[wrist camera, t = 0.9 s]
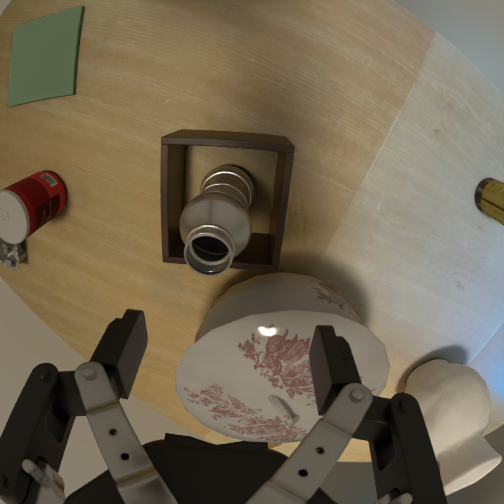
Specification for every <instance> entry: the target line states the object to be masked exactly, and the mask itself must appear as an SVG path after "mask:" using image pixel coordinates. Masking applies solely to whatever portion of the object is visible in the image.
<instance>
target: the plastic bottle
mask: <svg viewBox="0 0 504 504" xmlns="http://www.w3.org/2000/svg"><path fill="white" fill-rule="evenodd" d="M253 197H254V187H253V183H252V181H251V179H250V178H249V176H248V175H247V174H246V173H245V172H244V171H243V170H241V169H239V168H237V167H234V166H221V167H217V168H215V169H213V170H211V171H210V172H209V173H208V174H207V175H206V176H205V178H204V179H203V181H202V185H201V194H200V195H198V196H197V197H195V198H194V199H193V200H191V201H190V202H189V203H188V204H187V206H186V207H185V208H184V210H183V212H182V214H181V217H180V233H181V238H182V240H183V242H184V244H185V248H184V257H185V260H186V263H187V264H188V266H189V267H190V268H191V269H192V270H193V271H195V272H196V273H198V274H200V275H204V276H217V275H220V274H222V273H224V272H225V271H227V270H228V268H229V267H230V265H231V263H232V260H233V258H234V257H235V256H237V255H238V254H240V252H241V251H242V250H243V249H244V248H245V247H246V246H247V244H248V243H249V241H250V238H251V233H252V225H251V218H250V215H249V213H248V208H249V206H250V204H251V202H252V200H253Z"/></svg>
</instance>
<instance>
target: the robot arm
mask: <svg viewBox="0 0 504 504" xmlns="http://www.w3.org/2000/svg"><path fill="white" fill-rule="evenodd" d="M147 340H148V336H147V329H146V323H145V316H144V312H143V311H141V310H133V309H127V310H126V312H125V314H124V316H123V318H122V319H120V318H116V319H115V320H114V321H112V322H111V323H110V324H109V325H108V327H107V329H106V331H105V333H104V334H103V336H102V339H101V340H100V342H99V344H98V346H97V348H96V349H95V351H94V353H93V355H92V357H91V359H90V361H89V362H85V363H83V364H81V365H80V366H79V367H78V368H77V369H76V371H64V372H63V371H62V372H58V370H57V368H56V367H55V366H54V365H53V364H50V363H42V364H39V365H38V366H36V367H35V368H34V369H33V370H32V372H31V374H30V376H29V378H28V380H27V382H26V384H25V386H24V388H23V389H22V391H21V394H20V396H19V398H18V400H17V402H16V404H15V406H14V408H13V410H12V413H11V415H10V417H9V419H8V421H7V423H6V426H5V428H4V431H3V433H2V435H1V438H0V499H2V500H3V501H4V502H5V503H6V504H338V503H336V502H335V501H334V500H333V499H332V498H331V497H330V496H329V495H328V494H327V493H325V492H324V491H323V490H322V489H321V488H320V487H319V486H320V485H321V484H322V482H323V481H324V479H325V478H326V476H327V475H328V474H329V472H330V471H331V469H332V468H333V466H334V465H335V463H336V462H337V460H338V459H339V457H340V456H341V454H342V453H343V451H344V450H345V448H346V446H347V445H348V443H349V442H350V440H351V438H355V439H360V440H366V441H368V442H369V447H370V453H371V459H372V465H373V471H374V478H375V485H376V491H377V499H378V501H376V502H375V503H374V504H447V500H446V496H445V491H444V487H443V483H442V479H441V475H440V472H439V468H438V464H437V460H436V457H435V453H434V450H433V447H432V443H431V440H430V437H429V433H428V430H427V427H426V424H425V421H424V418H423V415H422V412H421V409H420V406H419V403H418V401H417V400H416V398H415V397H413V396H412V395H410V394H408V393H398V394H395V395H394V396H393V397H392V399H387V398H382V397H377V396H374V395H372V393H371V391H370V390H369V389H368V388H367V387H366V386H364V385H362V382H361V379H360V376H359V372H358V369H357V366H356V363H355V360H354V357H353V354H352V351H351V348H350V345H349V343H348V342H347V341H346V340H345V338H344V337H343V336H336V334H335V330H334V327H333V326H332V325H316V327H315V331H314V335H313V338H312V342H311V346H310V350H309V363H310V369H311V374H312V380H313V386H314V392H315V398H316V404H317V410H318V416H323V417H322V418H320V419H319V420H318V421H317V422H316V424H315V425H314V426H313V428H312V429H311V430H310V432H309V433H308V434H307V435H306V437H305V438H304V439H303V440H302V442H301V443H300V444H299V445H298V447H297V448H296V449H295V450H294V452H293V453H292V454H291V455H290V456H289V457H287V456H286V455H284V454H282V453H280V452H278V451H275V450H272V449H268V442H250V441H240V442H234V443H227V444H219V445H215V444H211V443H208V442H205V441H202V440H199V439H196V438H193V437H190V436H183V435H175V434H169V433H166V434H165V439H163V440H157V441H152V442H149V443H146V444H144V445H141V443H140V441H139V440H138V437H137V436H136V434H135V432H134V430H133V428H132V426H131V424H130V422H129V420H128V418H127V416H126V414H125V412H124V410H123V408H122V406H121V404H120V402H119V400H120V398H123V399H128V397H129V394H130V392H131V389H132V386H133V383H134V380H135V377H136V374H137V372H138V369H139V366H140V363H141V361H142V358H143V355H144V352H145V350H146V347H147ZM76 416H87V419H88V422H89V424H90V427H91V430H92V432H93V435H94V437H95V439H96V442H97V444H98V447H99V449H100V451H101V454H102V456H103V458H104V460H105V462H106V464H107V466H108V470H107V471H105V472H104V473H102V474H100V475H99V476H98V477H96V478H95V479H93V480H92V481H90V482H88V483H87V484H85V485H84V486H82V487H81V488H79V489H78V490H76V491H75V492H73V493H72V494H70V495H69V496H68V497H67V498H65V495H64V482H63V479H62V478H61V476H60V475H59V474H58V471H59V468H60V464H61V461H62V458H63V454H64V451H65V448H66V445H67V441H68V438H69V435H70V432H71V429H72V426H73V423H74V420H75V417H76Z"/></svg>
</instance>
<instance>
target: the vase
mask: <svg viewBox="0 0 504 504" xmlns="http://www.w3.org/2000/svg"><path fill="white" fill-rule="evenodd" d="M406 383H407V388H406V390H405V392H404V393H408V394H410V395H412V396H413V397H415V398H416V400H417V401H418V403H419V406H420V409H421V412H422V415H423V418H424V421H425V424H426V427H427V430H428V433H429V437H430V440H431V443H432V447H433V450H434V453H435V457H436V460H437V461H439V462H440V466H441V474H440V475H441V479H442V483H443V487H444V491H445V495H449V494H450V493H452V492H454V491H457V490H459V489H461V488H463V487H466V486H468V485H471V484H473V483H474V482H476V481H478V480H479V479H481V478H482V477H484V476H485V475H486V474H487V473H488V472H490V471H491V470H492V469H493V468H495V467H496V466H497V465H498V464H499V463H500V462H501V459H502V457H501V456H500V455H499V454H498V453H496V452H495V451H494V450H493V449H492V448H491V446H490V445H489V444H488V443H487V441H486V440H485V439H484V437H483V436H482V434H483V432H484V431H485V430H486V427H487V425H488V420H489V415H490V397H489V390H488V387H487V385H486V383H485V381H484V379H483V378H482V377H481V376H480V375H479V373H478V372H477V371H476V370H474V369H472V368H470V367H468V366H464V365H458V364H449V363H448V362H447V361H446V360H443V359H436V360H431V361H428V362H426V363H424V364H422V365H420V366H419V367H417V368H416V369H415V370H414V371H412V373H411V374H410V375H409V377H408V379H407V382H406Z"/></svg>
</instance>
